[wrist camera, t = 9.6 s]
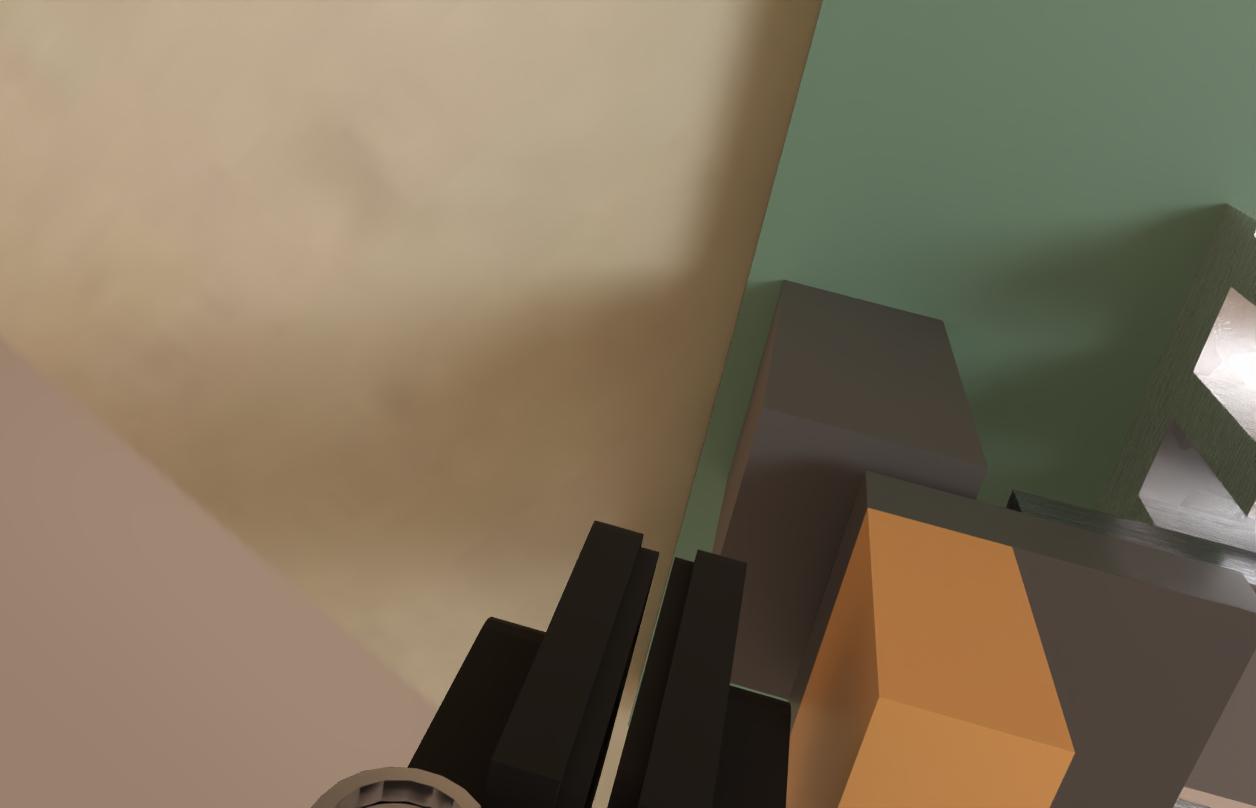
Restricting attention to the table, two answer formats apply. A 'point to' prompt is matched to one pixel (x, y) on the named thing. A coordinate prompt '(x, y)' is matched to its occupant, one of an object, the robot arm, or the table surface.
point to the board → (963, 271)
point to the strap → (1252, 720)
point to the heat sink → (1200, 417)
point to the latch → (1008, 662)
